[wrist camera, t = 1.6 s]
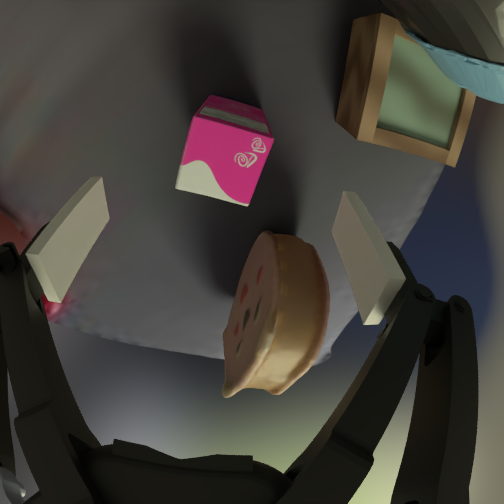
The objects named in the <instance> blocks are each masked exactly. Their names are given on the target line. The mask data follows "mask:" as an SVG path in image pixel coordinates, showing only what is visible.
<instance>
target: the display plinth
mask: <svg viewBox="0 0 504 504" xmlns="http://www.w3.org/2000/svg"><path fill="white" fill-rule="evenodd" d="M475 98H476V95H475V94H473V93H472V92H470V91H469V90H468V89H465V88H462V87H460V86H458V85H456V84H455V83H454V82H452V81H451V80H450V79H449V78H447V77H446V76H445V75H444V74H443V73H442V72H441V70H440V69H439V68H438V67H437V65H436V64H435V63H434V62H433V60H432V59H431V58H430V56H429V55H428V54H427V53H426V51H425V50H424V49H423V48H422V47H421V46H420V44H418V43H417V42H415V41H414V40H413V39H412V38H410V37H409V36H408V35H407V33H406V32H405V31H404V29H403V28H402V26H401V25H400V22H399V21H398V20H397V19H396V18H393V17H391V16H388V15H386V14H383V13H378V14H373V15H369V16H365V17H361V18H357V19H353V24H352V31H351V37H350V44H349V50H348V56H347V62H346V67H345V73H344V79H343V84H342V89H341V95H340V100H339V105H338V110H337V115H336V120H335V122H337V123H338V124H339V125H340V126H341V127H343V128H344V129H345V130H346V131H347V132H349V133H350V134H351V135H352V136H353V137H354V138H355V139H357V140H361V141H365V142H369V143H374V144H378V145H382V146H386V147H390V148H394V149H397V150H401V151H405V152H408V153H412V154H415V155H418V156H422V157H425V158H428V159H431V160H434V161H438V162H441V163H444V164H447V165H449V166H452V167H455V166H456V163H457V160H458V157H459V154H460V151H461V148H462V145H463V142H464V138H465V135H466V132H467V128H468V125H469V121H470V117H471V114H472V110H473V106H474V102H475Z"/></svg>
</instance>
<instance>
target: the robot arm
mask: <svg viewBox="0 0 504 504" xmlns="http://www.w3.org/2000/svg"><path fill="white" fill-rule="evenodd" d="M380 1H381V2H382V3H383V4H384V5H385V6H386V7H387V9H388V10H389V11H390V12H391V13H392V14H393V15H394V16H395V17H396V18H397V20H398V21H399V22H400V25H401V26H402V28H403V29H404V31H405V32H406V33H407V35H408V36H409V37H410V38H412V39H413V40H414V41H415V42H417V43H418V44H420V46H421V47H422V48H423V49H424V50H425V51H426V53H427V54H428V55H429V56H430V58H431V59H432V60H433V62H434V63H435V64H436V65H437V67H438V68H439V69H440V70H441V72H442V73H443V74H444V75H445V76H446V77H447V78H449V79H450V80H451V81H452V82H454V83H455V84H456V85H458V86H460V87H462V88H465V89H468V90H469V91H470V92H472V93H473V94H475V95H477V96H479V97H482V98H485V99H487V100H491V101H494V102H497V103H502V104H504V0H380ZM109 219H110V218H109V213H108V208H107V203H106V198H105V192H104V186H103V180H102V177H90V178H89V179H88V180H87V181H86V182H85V184H84V185H83V186H82V187H81V188H80V189H79V190H78V191H77V192H76V193H75V194H74V195H73V196H72V197H71V198H70V200H69V201H68V202H67V203H66V204H65V205H64V206H63V207H62V209H61V210H60V211H59V212H58V213H57V214H56V215H55V217H54V218H53V219H52V220H51V221H50V222H48V223H47V224H45V225H44V226H43V227H42V228H41V229H40V230H39V231H38V232H37V234H36V235H35V236H34V238H33V239H32V241H30V243H29V244H28V245H27V247H26V248H25V249H24V251H23V252H22V253H21V255H20V256H19V254H18V252H17V249H16V247H15V245H14V243H12V242H7V243H4V244H2V245H0V504H348V502H349V501H350V499H351V498H352V497H353V495H354V494H355V492H356V491H357V489H358V488H359V486H360V485H361V483H362V482H363V480H364V479H365V477H366V476H367V474H368V472H369V471H370V469H371V467H372V465H373V462H374V458H373V452H374V450H375V448H376V446H377V445H378V443H379V441H380V439H381V437H382V436H383V434H384V432H385V430H386V428H387V426H388V424H389V422H390V420H391V418H392V416H393V414H394V412H395V410H396V408H397V406H398V404H399V401H400V399H401V397H402V395H403V393H404V390H405V388H406V386H407V383H408V381H409V379H410V376H411V374H412V371H413V368H414V366H415V363H416V361H417V358H418V355H419V353H420V357H419V368H418V378H417V386H416V393H415V399H414V406H413V412H412V417H411V423H410V428H409V432H408V437H407V442H406V446H405V450H404V454H403V458H402V462H401V465H400V469H399V473H398V476H397V479H396V483H395V486H394V490H393V494H392V498H391V504H469V484H470V479H471V473H472V466H473V461H474V453H475V445H476V435H477V421H478V362H477V348H476V338H475V328H474V321H473V314H472V309H471V306H470V305H469V303H468V302H467V301H466V300H465V299H464V298H462V297H461V296H458V295H453V296H451V297H450V299H449V300H448V302H444V301H441V300H437V299H435V297H434V294H433V293H432V291H431V290H430V289H429V288H427V287H426V286H424V285H422V284H418V283H417V281H416V279H415V277H414V275H413V273H412V271H411V270H410V268H409V266H408V264H406V263H407V262H406V261H405V259H404V258H403V255H402V254H401V252H400V250H399V249H398V248H397V247H396V246H395V245H394V244H393V243H392V242H387V241H385V239H384V237H383V235H382V234H381V232H380V230H379V229H378V227H377V225H376V224H375V222H374V220H373V219H372V217H371V215H370V214H369V212H368V210H367V209H366V207H365V206H364V204H363V202H362V201H361V199H360V198H359V196H358V195H357V193H356V192H349V191H343V194H342V198H341V201H340V205H339V208H338V212H337V215H336V219H335V222H334V226H333V229H332V235H333V238H334V240H335V243H336V246H337V248H338V251H339V254H340V256H341V259H342V262H343V265H344V267H345V270H346V273H347V276H348V279H349V282H350V285H351V288H352V290H353V293H354V296H355V300H356V303H357V306H358V309H359V312H360V315H361V318H362V321H363V324H364V325H371V324H379V323H380V321H381V319H382V318H383V317H384V315H385V318H386V321H387V324H386V325H385V326H384V328H383V329H382V331H381V332H380V334H379V335H378V337H377V338H378V340H377V341H376V343H375V345H374V347H373V349H372V351H371V352H370V354H369V356H368V358H367V360H366V361H365V363H364V365H363V366H362V368H361V370H360V371H359V373H358V375H357V376H356V378H355V380H354V381H353V383H352V384H351V386H350V388H349V389H348V391H347V392H346V394H345V395H344V397H343V398H342V400H341V401H340V403H339V404H338V406H337V408H336V409H335V410H334V412H333V413H332V415H331V416H330V418H329V419H328V421H327V422H326V423H325V425H324V426H323V427H322V429H321V430H320V432H319V433H318V434H317V435H316V437H315V438H314V439H313V441H312V442H311V443H310V445H309V446H308V447H307V448H306V450H305V451H304V452H303V453H302V454H301V455H300V456H299V457H298V458H297V459H296V460H295V461H294V462H293V463H292V465H291V466H290V467H289V468H288V469H287V470H286V471H285V473H284V474H283V473H281V472H280V471H278V470H277V469H275V468H273V467H271V466H269V465H266V464H264V463H261V462H258V461H254V460H253V456H250V455H248V456H247V455H244V456H243V455H219V454H216V455H210V456H204V457H197V458H188V459H177V458H175V457H172V456H169V455H167V454H164V453H162V452H159V451H157V450H155V449H152V448H150V447H148V446H145V445H140V444H135V443H131V442H126V441H122V440H118V439H114V442H113V444H111V445H104V446H101V444H100V443H99V441H98V440H97V438H96V437H95V436H94V435H93V433H92V432H91V431H90V429H89V428H88V426H87V424H86V422H85V420H84V418H83V416H82V414H81V412H80V410H79V407H78V405H77V403H76V401H75V398H74V396H73V394H72V391H71V389H70V386H69V384H68V381H67V379H66V376H65V374H64V371H63V368H62V365H61V362H60V360H59V357H58V354H57V351H56V348H55V345H54V341H53V338H52V335H51V331H50V327H49V324H48V320H47V316H46V312H45V308H44V304H43V302H42V300H41V298H40V297H41V296H42V294H43V292H44V293H45V295H46V297H47V299H48V301H53V302H58V303H61V302H62V300H63V298H64V296H65V294H66V292H67V290H68V288H69V286H70V285H71V283H72V281H73V279H74V277H75V275H76V273H77V272H78V270H79V268H80V266H81V265H82V263H83V261H84V259H85V258H86V256H87V254H88V253H89V251H90V249H91V248H92V246H93V244H94V243H95V241H96V239H97V238H98V236H99V235H100V233H101V231H102V230H103V228H104V227H105V225H106V224H107V222H108V220H109ZM7 369H8V370H7ZM7 372H9V376H10V381H11V385H12V389H13V393H14V397H15V401H16V405H17V408H18V413H19V415H18V417H17V418H15V419H14V426H15V430H16V433H17V436H18V439H19V442H20V445H21V448H22V450H23V453H24V455H25V458H26V461H27V463H28V465H29V468H30V470H31V472H32V474H33V477H34V479H35V481H36V483H37V485H38V488H39V491H38V492H37V493H35V494H34V495H33V496H32V497H30V498H29V499H28V500H26V501H24V500H23V497H24V496H25V492H26V491H25V488H24V486H23V484H22V483H20V482H19V481H18V480H17V479H16V476H15V474H16V473H15V472H16V471H15V458H14V450H13V443H12V436H11V428H10V418H9V405H8V377H7Z"/></svg>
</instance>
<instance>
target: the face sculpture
mask: <svg viewBox="0 0 504 504" xmlns="http://www.w3.org/2000/svg"><path fill="white" fill-rule="evenodd" d="M329 311H330V292H329V284H328V280H327V276H326V273H325V270H324V267H323V265H322V262H321V259H320V257H319V255H318V253H317V251H316V249H315V248H314V246H313V245H311V244H309V243H305V242H304V241H303V240H302V239H300V238H298V237H296V236H293V235H287V234H273V233H272V232H271V231H269V230H265V231H263V232H262V233H261V234H260V235H259V236H258V238H257V240H256V241H255V243H254V245H253V247H252V249H251V251H250V253H249V255H248V258H247V261H246V263H245V266H244V268H243V271H242V274H241V277H240V280H239V283H238V287H237V291H236V295H235V298H234V302H233V305H232V309H231V313H230V317H229V321H228V325H227V328H226V329H225V330H224V332H223V343H224V356H225V375H226V380H225V383H224V386H223V390H222V394H223V396H224V397H225V398H227V397H231V396H232V395H234V394H235V393H236V392H238V391H240V390H241V389H243V388H260V389H265V390H266V391H268V392H269V393H271V394H273V395H279V394H281V393H283V392H284V391H285V390H286V389H287V388H289V387H290V386H291V385H292V384H293V383H294V382H295V381H296V380H297V379H299V378H300V377H301V376H302V375H303V374H305V373H306V372H307V371H308V370H309V368H310V367H311V366H312V365H313V363H314V361H315V360H316V358H317V356H318V354H319V351H320V349H321V346H322V344H323V341H324V338H325V334H326V330H327V324H328V317H329Z"/></svg>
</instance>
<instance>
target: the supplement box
mask: <svg viewBox="0 0 504 504" xmlns="http://www.w3.org/2000/svg"><path fill="white" fill-rule="evenodd" d="M273 141H274V137H273V135H272V133H271V130H270V128H269V125H268V123H267V120H266V118H265V115H264V113H263V110H262V109H260V108H257V107H254V106H251V105H248V104H245V103H241V102H238V101H235V100H231V99H228V98H224V97H220V96H216V95H212V94H211V95H210V96H209V97H208V98H207V99H206V101H205V102H204V103H203V105H202V106H201V107H200V108H199V110H198V111H197V112H196V113H195V115H194V116H193V118H192V121H191V124H190V127H189V131H188V134H187V138H186V142H185V146H184V150H183V154H182V158H181V163H180V167H179V171H178V176H177V180H176V185H175V188H176V189H180V190H184V191H189V192H193V193H197V194H202V195H206V196H210V197H214V198H217V199H221V200H225V201H229V202H232V203H236V204H239V205H243V206H248V205H249V203H250V200H251V198H252V195H253V193H254V190H255V188H256V185H257V182H258V180H259V177H260V175H261V172H262V169H263V167H264V164H265V162H266V159H267V156H268V154H269V151H270V149H271V146H272V144H273Z"/></svg>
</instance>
